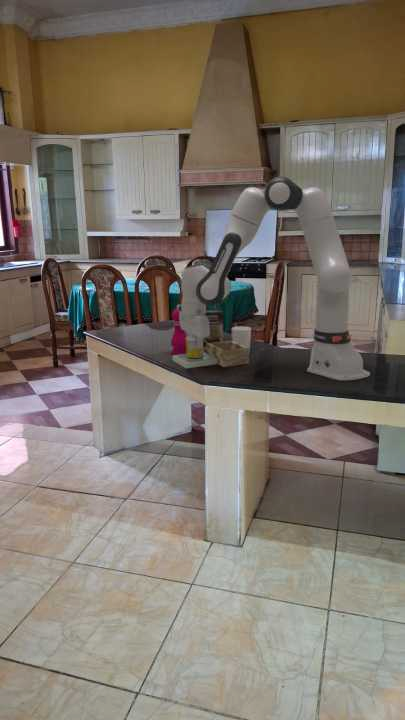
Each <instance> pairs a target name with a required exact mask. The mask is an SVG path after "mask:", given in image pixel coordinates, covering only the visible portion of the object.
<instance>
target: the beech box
mask: <svg viewBox="0 0 405 720" xmlns="http://www.w3.org/2000/svg"><path fill="white" fill-rule="evenodd" d="M206 354H208V355H210V356H212V357H214V358H216V359H218V364H217V365H219V366H221V367H223V368H227V367H234V366H241V365H249V363H250V352H249V348H247V347H245V346H243V345H240V344H238V343H235V342H233V341H232V340H223V342H215V343H207V350H206Z"/></svg>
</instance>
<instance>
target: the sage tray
mask: <svg viewBox="0 0 405 720" xmlns="http://www.w3.org/2000/svg"><path fill="white" fill-rule="evenodd" d="M172 361H173V362H175V363H176V364H178V365H179V366H181V367H182V368H184V369H191V368H192V369H193V368H199V367H205V366H206V367H207V366H214V365H215V366H216V365H219V364H218V359H216V358H214V357H212V356H210V355H208V354H207V352H204V358H203V359H202V360H198V361H190V360H188V359H187V354H181V355H174V354H172Z"/></svg>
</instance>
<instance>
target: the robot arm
mask: <svg viewBox="0 0 405 720" xmlns="http://www.w3.org/2000/svg"><path fill="white" fill-rule="evenodd" d="M271 210H272V211H277V212H287V211H291V210H292V211H294V212H295V214H296V216H297V218H298V221H299V224H300V227H301V230H302V234H303V236H304V239H305V243H306V246H307V250H308V252H309V256H310V259H311V260H310V261H311V262H312V266H313V269H314V273H315V276H316V279H317V281H316V282H317V284H316V287H317V288H316V309H315V328H314V330H313V339H314V341H313V342H314V343H313V346H312V347H311V352H310V358H309V359H310V360H309V366H307V369H306V372H309V373H311V374H315V375H319V376H321V377H325V378H327V379H331V380H337V381H354V380H360V379H364V378H368V377H370V376H371V372H369V371H368V370H366V369H364V360H363V357H362V356H361V353H359V352H358V351H357V350H356V349H355V347H354V345H352V343H351V341H352V340H351V338H352V337H353V334H350V332H349V330H348V327H349V326H348V325H349V306H350V305H349V304H350V301H349V298H350V297H349V296H350V295H349V294H350V283H351V281H352V271H351V268H350V265H349V261H348V259H347V255H346V252H345V250H344V249H345V248H344V247H343V244H342V239H341V237H340V233H339V231H338V227H337V223H336V221H335V218H334V215H333V211H332V209H331V206H330V203H329V201H328V199H327V197H326V195H325V192H323V190H322V189H320V188H318V187H314V186H313V187H308V188H304V189H302V188H301V187H299V185H297V183H296V182H295V181H294V180H293V179H291V178H290V177H286V176H276V177H273V178H272V179H270V181H269V182H267V184H266V186H265V187H264V189H261V188H258V187H254V186H253V187H252V186H249V187H247V188H245V189H244V190H243V191H242V192H241V194H240V195H239V197H238V199H237V201H236V202H235V204H234V205H233V208H232V210H231V213H230V215H229V216H228V217H229V218H228V221H227V223H226V227H225V230H224V234H223V237H222V241H221V243H220V246H219V248H218V249H217V250H218V251H217V253H216V255H215V257H214V259H213V262H212V263H211V266H210V268H209V269H208V268H207V267H205V266H204V265H203V264H199V263H198V264H194V265H189V266H186V267H185V268H183V270H182V273H181V292H182V299H181V304H178V305H179V306H178V311H179V321H180V327H181V329H182V330H185V334H186V336H188V335H189V334H188V329H189V330H192V334H194V335H196V336H197V342H196V346H197V347H198V348H199V347H202V341H203V338H205V337H209V335H210V328H209V320H208V317H207V316H206V315H205V313H206V309H207V308H206V307H214V306H216V305H218V304H219V303H221V301H222V300H224V299H225V298H226V297H227V296H228V295H229V294H230V293H231V291H232V283H231V280H230V279H229V278H228V277H227V276H228V274H229V272H230V271H231V267H233V266H232V265H233V264H234V261H235V259H236V258H237V256H238V255H239V254H240V253H241V252H242V250H244V249H245V248H246V247H247V246H249V245H250V244H251V243H252V241H253V240H254V238H255V237H256V235H257V234H258V231H259V229H260V227H261V225H262V222H263V220H264V218H265V217H266V215H267V213H268V212H270V211H271Z"/></svg>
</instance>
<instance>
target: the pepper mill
mask: <svg viewBox="0 0 405 720" xmlns="http://www.w3.org/2000/svg"><path fill="white" fill-rule="evenodd" d="M179 305H180V304H177V305H176V308H175V309H173V311H171V317H172V320H173V321H172V322H173V326H174V331H173V335H172V338H171V340H170V345H171V347H172V355H181V354H187V349H186V337H187V335H186V331H185V330H182V329H181V327H180V321H179V311H178V306H179Z"/></svg>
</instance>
